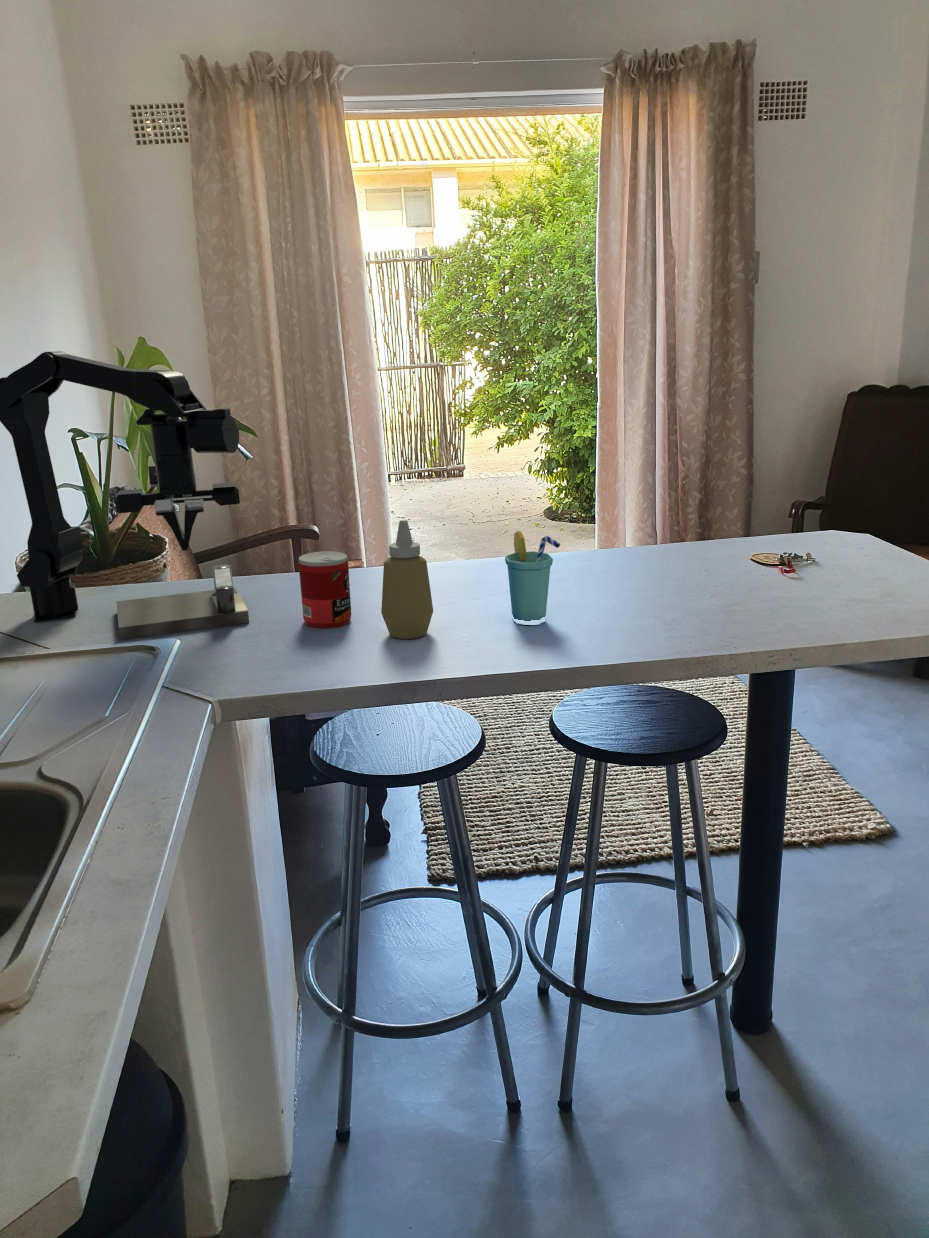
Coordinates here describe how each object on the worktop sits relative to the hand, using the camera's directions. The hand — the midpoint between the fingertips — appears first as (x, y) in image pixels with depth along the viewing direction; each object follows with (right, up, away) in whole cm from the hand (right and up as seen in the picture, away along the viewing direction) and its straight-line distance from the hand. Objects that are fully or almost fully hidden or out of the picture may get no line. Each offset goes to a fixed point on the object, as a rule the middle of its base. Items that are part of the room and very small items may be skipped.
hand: (185, 550), depth 145 cm
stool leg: (+5, -8, +6) cm, 11 cm away
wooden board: (-2, -11, +5) cm, 12 cm away
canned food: (+23, -12, +1) cm, 26 cm away
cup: (+56, -12, -1) cm, 58 cm away
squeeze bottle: (+37, -14, -6) cm, 40 cm away
